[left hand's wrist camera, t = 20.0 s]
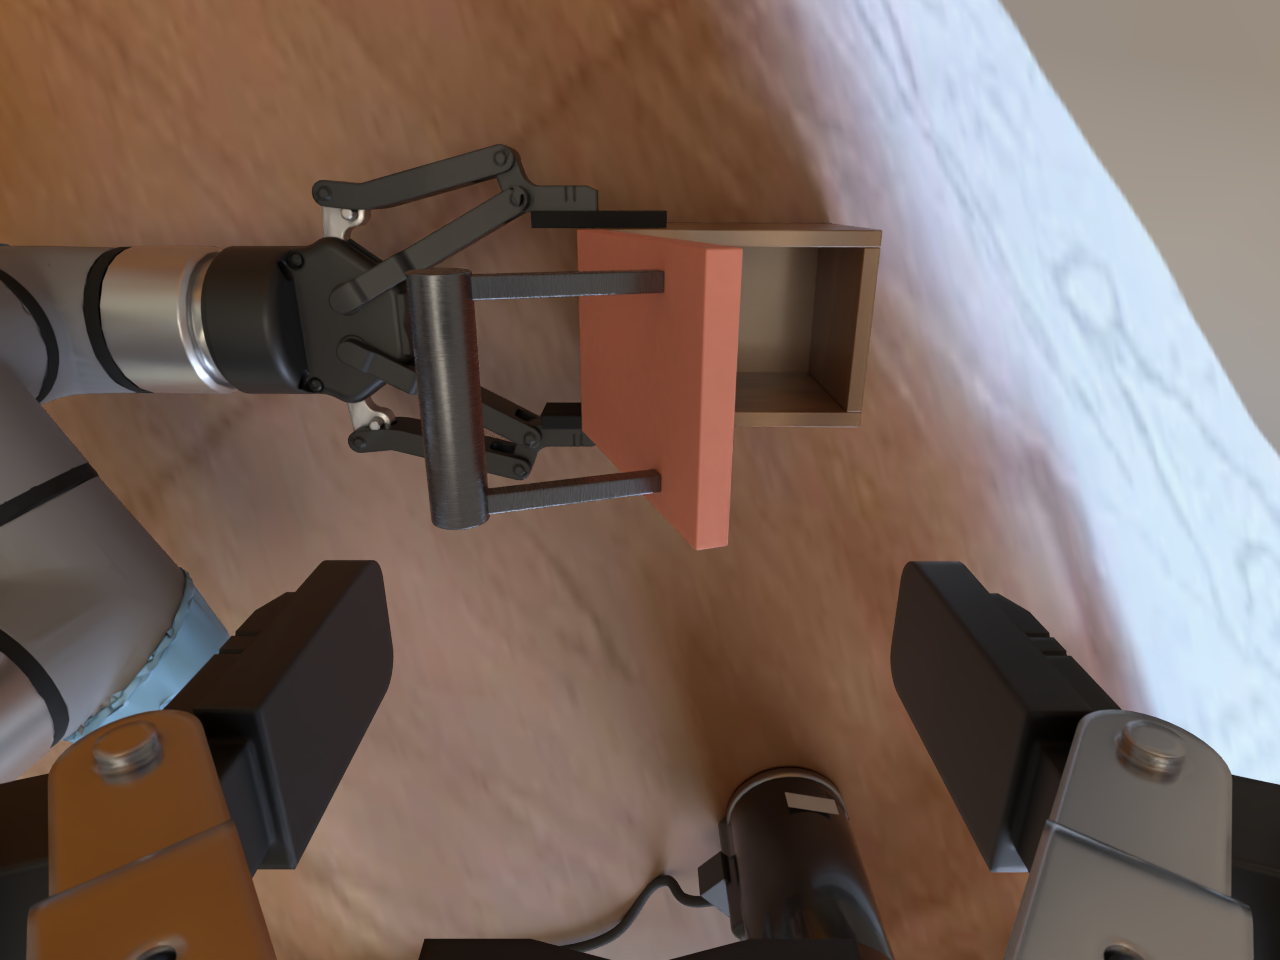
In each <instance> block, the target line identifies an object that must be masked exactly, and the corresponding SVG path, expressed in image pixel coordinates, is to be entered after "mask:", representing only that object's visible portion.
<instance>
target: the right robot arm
mask: <svg viewBox="0 0 1280 960" xmlns="http://www.w3.org/2000/svg"><path fill="white" fill-rule="evenodd" d="M494 178H497V180H498V182H499V185H500V187H501V190H502V192H501V193H499V194H498V195H496V196H494V197H492V198H491V199H489V200H487V201H486V202H484V203H482V204H481V205H479V206H477V207H476V208H474V209H472V210H471V211H469V212H467V213H466V214H464V215H462V216H461V217H459V218H457V219H455V220H454V221H452V222H450V223H449V224H447V225H445V226H444V227H442V228H440V229H439V230H437V231H435V232H434V233H432V234H430V235H429V236H427V237H425V238H424V239H422V240H420V241H419V242H417V243H415V244H413V245H412V246H410V247H408V248H407V249H405V250H403V251H401V252H399V253H397V254H395V255H393V256H391V257H390V258H388V259H386V260H385V261H382V260H381V259H379V258H378V257H376V256H375V255H373V254H372V253H370V252H369V251H368V250H366V249H365V248H363V247H362V246H360V245H359V244H357V243H356V242H355V241H353V240H352V239H350V234H351V231H352V230H353V229H354V228H355V227H357V226H361V225H365V224H366V223H368V221H369V220H370V216H371V209H386V208H390V207H395V206H398V205H402V204H405V203H409V202H413V201H416V200H420V199H423V198H427V197H430V196H434V195H437V194H441V193H444V192H448V191H452V190H455V189H459V188H462V187H466V186H469V185H473V184H476V183H480V182H484V181H487V180H491V179H494ZM312 195H313V198H314V200H315V201H316V202H317V203H318V204H319V205H321V206H322V214H323V234H324V238H321V239H319V240H318V241H316V242H315V243H313V244H311V245H309V246H231V247H227V248H226V249H224V250H222V249H219V248H217V247H215V246H134V247H118V248H100V247H61V246H9V245H8V244H0V784H1V783H6V782H11V781H15V780H16V779H17V778H18V777H19V776H21V775H22V774H23V773H24V772H25V771H26V770H28V769H29V768H30V767H31V766H32V765H34V764H35V763H36V762H37V761H38V760H39V759H41V758H42V757H43V756H44V755H45V754H47V753H48V752H49V750H50V748H51V747H53V746H54V745H55V744H56V743H58V742H59V741H61V740H64V741H71V742H72V743H73V744H74V743H75V742H76V741H78V740H79V739H81V738H82V737H84V736H85V735H87V734H89V733H90V732H92V731H94V730H96V729H98V728H100V727H102V726H104V725H106V724H108V723H110V722H113V721H116V720H118V719H121V718H124V717H127V716H131V715H134V714H138V713H143V712H147V711H155V710H163V709H164V708H165V707H166V706H167V704H168V703H169V702H170V701H171V700H172V699H173V698H174V697H175V696H176V695H177V694H178V693H179V692H180V691H181V689H182V688H183V687H184V686H185V685H186V684H187V683H188V682H189V681H190V680H191V679H192V678H193V677H194V676H195V675H196V673H197V672H198V671H199V670H200V669H201V668H202V667H203V666H204V665H205V664H206V663H207V662H208V661H209V660H210V659H211V657H212V656H213V655H214V654H219V649H220V648H221V647H222V646H223V645H224V644H225V642H226V641H227V640H228V639H229V638H230V637H229V634H228V632H227V630H226V628H225V627H224V625H223V624H222V623H221V622H220V620H219V619H218V618H217V616H216V615H215V614H214V612H213V611H212V609H211V608H210V607H209V605H208V604H207V602H206V601H205V600H204V598H203V597H202V595H201V594H200V593H199V591H198V590H197V588H196V587H195V586H194V584H193V581H192V579H191V578H190V576H189V573H188V572H186V571H185V570H183V569H182V568H181V567H178V566H177V565H176V564H175V562H174V561H173V560H172V559H171V558H170V557H169V556H168V555H167V553H166V552H165V551H164V550H163V549H162V548H161V547H160V546H159V544H158V543H157V542H156V541H155V540H154V539H153V538H152V536H151V535H150V534H149V533H148V532H147V531H146V530H145V529H144V527H143V526H142V525H141V524H140V523H139V522H138V521H137V520H136V518H135V517H134V516H133V515H132V514H131V513H130V512H129V510H128V509H127V508H126V507H125V506H124V505H123V504H122V503H121V501H120V500H119V499H118V498H117V497H116V496H115V495H114V494H113V492H112V491H111V490H110V489H109V488H108V487H107V486H106V484H105V483H104V482H103V481H102V480H101V479H100V478H99V476H98V473H97V472H96V471H95V470H94V469H93V468H92V466H91V465H90V464H89V462H88V461H87V460H86V459H85V457H84V456H83V455H82V454H81V453H80V451H79V450H78V449H77V448H76V447H75V446H74V444H73V443H72V442H71V441H70V440H69V438H68V437H67V436H66V435H65V434H64V432H63V431H62V430H61V429H60V428H59V426H58V425H57V424H56V423H55V422H54V420H53V419H52V418H51V417H50V416H49V415H48V413H47V412H46V411H45V410H44V409H43V407H42V406H41V405H40V404H43V403H46V402H49V401H52V400H55V399H58V398H61V397H65V396H70V395H77V394H92V393H195V394H231V393H234V392H237V391H239V390H240V391H241V392H244V393H249V394H327V395H331V396H333V397H336V398H338V399H340V400H342V401H344V402H347V404H348V408H349V412H350V416H351V420H352V424H353V428H354V432H353V433H352V434H351V435H350V436H349V438H348V444H349V446H350V448H351V449H352V450H354V451H356V452H359V453H365V452H376V451H387V450H394V451H399V452H403V453H407V454H411V455H415V456H419V457H424V458H425V454H424V444H423V435H422V426H421V420H419V419H414V418H409V417H395V415H394V413H393V412H392V411H391V410H390V409H388V408H385V407H380V406H378V405H376V404H375V403H374V402H373V401H372V399H371V395H372V394H374V393H375V392H376V391H378V390H379V389H380V388H381V387H383V386H384V385H385V384H387V383H388V384H390V385H392V386H394V387H396V388H398V389H400V390H402V391H404V392H406V393H409V394H412V395H418V388H417V379H416V369H415V360H414V350H413V341H412V332H411V322H410V313H409V303H408V294H407V285H406V275H405V273H406V272H407V271H409V270H416V269H430V268H432V267H434V266H436V265H437V264H439V263H441V262H442V261H444V260H446V259H447V258H449V257H451V256H453V255H454V254H456V253H458V252H459V251H461V250H463V249H465V248H466V247H468V246H470V245H471V244H473V243H475V242H477V241H478V240H480V239H482V238H483V237H485V236H487V235H488V234H490V233H492V232H494V231H495V230H497V229H499V228H500V227H502V226H504V225H506V224H507V223H509V222H511V221H512V220H514V219H516V218H517V217H519V216H521V215H523V214H524V213H526V212H531V223H532V228H594V227H619V228H666V223H667V211H598V190H596V189H593V188H591V187H589V186H537V185H535V184H533V183H532V182H531V181H530V180H529V179H528V178H527V176H526V173H525V171H524V168H523V166H522V163H521V157H520V155H519V153H518V152H517V151H516V150H515V149H512V148H510V147H508V146H505V145H502V144H497V145H493V146H490V147H486V148H483V149H479V150H476V151H472V152H469V153H465V154H462V155H458V156H455V157H451V158H448V159H444V160H441V161H437V162H434V163H430V164H427V165H423V166H420V167H416V168H413V169H409V170H406V171H402V172H399V173H395V174H392V175H388V176H385V177H381V178H378V179H374V180H371V181H367V182H364V183H355V182H345V181H331V180H320V181H318V182H316V183H315V184H314V186H313V187H312ZM480 389H481V403H482V416H483V427H484V428H486V429H488V430H490V431H492V432H494V433H496V434H498V435H500V436H502V437H504V438H506V439H508V440H510V441H512V442H509V441H505V440H501V439H497V438H493V437H489V436H485V435H484V443H485V456H486V469H487V473H490V474H495V475H499V476H503V477H507V478H511V479H516V480H523V479H526V478H527V477H528V476H529V474H530V472H531V469H532V467H533V464H534V462H535V459H536V456H537V453H538V451H539V450H540V449H542V448H544V447H548V446H595V444H594V443H593V441H592V440H591V439H590V438H589V437H588V436H587V435H586V434H585V433H584V432H583V431H582V405H581V403H546V405H545V408H544V410H543V412H542V414H541V416H538V415H536V414H534V413H532V412H530V411H528V410H526V409H524V408H522V407H520V406H518V405H516V404H514V403H513V402H511V401H509V400H507V399H505V398H503V397H501V396H499V395H497V394H495V393H493V392H491V391H489V390H487V389H485V388H483V387H481V386H480ZM513 442H514V443H513Z"/></svg>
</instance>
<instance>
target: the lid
mask: <svg viewBox="0 0 1280 960" xmlns="http://www.w3.org/2000/svg"><path fill="white" fill-rule="evenodd" d="M577 247H578V271H570V272H533V273H497V274H472V272H471V271H470V270H468V269H458V268H430V269H416V270H409V271H407V272H406V273H405V275H406V285H407V294H408V303H409V313H410V322H411V332H412V341H413V350H414V360H415V369H416V379H417V388H418V397H419V407H420V416H421V426H422V435H423V444H424V454H425V463H426V473H427V482H428V491H429V501H430V510H431V520H432V523H433V524H434V525H435V526H437V527H439V528H442V529H447V530H463V529H469V528H473V527H477V526H479V525H482V524H483V523H485V522H486V521H487V520H488V519H489V517H490V514H495V513H503V512H511V511H519V510H526V509H534V508H542V507H550V506H557V505H565V504H573V503H580V502H588V501H596V500H604V499H611V498H619V497H627V496H635V495H642V494H643V495H644V496H645V497H646V498H647V499H648V500H649V501H650V502H651V504H652V505H653V506H654V507H655V508H656V509H657V510H658V511H659V512H660V513H661V514H662V515H663V516H664V517H665V518H666V519H667V520H668V521H669V522H670V524H671V525H672V526H673V527H674V528H675V529H676V530H677V531H678V532H679V533H680V534H681V535H682V536H683V537H684V538H685V539H686V540H687V541H688V542H689V544H690V545H691V546H692V547H693V548H694V549H695V550H702V549H708V548H715V547H721V546H727V545H728V529H729V509H730V490H731V471H732V451H733V432H734V412H735V393H736V373H737V354H738V334H739V315H740V295H741V276H742V256H743V249H742V248H740V247H733V246H725V245H717V244H710V243H702V242H694V241H687V240H679V239H671V238H664V237H656V236H648V235H641V234H633V233H625V232H618V231H610V230H602V229H580V230H577ZM570 296H579V326H580V366H581V405H582V431H583V432H584V433H585V434H586V435H587V436H588V437H589V438H590V439H591V440H592V441H593V443H594V444H595V445H596V446H597V447H598V448H599V449H600V450H601V451H602V452H603V453H604V454H605V455H606V456H607V457H608V458H609V459H610V460H611V461H612V462H613V464H614V465H615V466H616V467H617V468H618V469H619V470H620V471H621V472H622V473H616V474H607V475H599V476H590V477H582V478H573V479H565V480H556V481H548V482H540V483H531V484H523V485H514V486H506V487H497V488H489V489H488V482H487V469H486V456H485V443H484V429H483V416H482V403H481V389H480V376H479V363H478V349H477V336H476V323H475V309H474V300H492V299H518V298H544V297H570Z"/></svg>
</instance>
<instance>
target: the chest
mask: <svg viewBox="0 0 1280 960" xmlns="http://www.w3.org/2000/svg"><path fill="white" fill-rule="evenodd" d="M592 229H602V230H610V231H618V232H625V233H633V234H641V235H648V236H656V237H664V238H671V239H679V240H687V241H694V242H702V243H710V244H717V245H725V246H733V247H740V248H742V249H743V256H742V276H741V295H740V315H739V334H738V354H737V373H736V393H735V412H734V427H860V422H861V411H862V403H863V395H864V386H865V377H866V369H867V360H868V351H869V343H870V334H871V325H872V316H873V308H874V299H875V290H876V282H877V273H878V264H879V256H880V248H879V247H880V246H881V238H882V230H877V229H870V228H862V227H854V226H846V225H838V224H831V223H666V228H619V227H594V228H592Z"/></svg>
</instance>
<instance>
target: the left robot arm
mask: <svg viewBox="0 0 1280 960" xmlns="http://www.w3.org/2000/svg"><path fill="white" fill-rule="evenodd" d="M890 658H891V672H892V678H893V682H894V686H895V689H896V691H897V693H898V695H899V697H900V699H901V701H902V703H903V705H904V707H905V709H906V711H907V712H908V714H909V716H910V718H911V720H912V722H913V724H914V726H915V728H916V730H917V732H918V734H919V735H920V737H921V739H922V741H923V743H924V745H925V747H926V749H927V751H928V753H929V755H930V757H931V758H932V760H933V762H934V764H935V766H936V768H937V770H938V772H939V774H940V776H941V778H942V780H943V781H944V783H945V785H946V787H947V789H948V791H949V793H950V795H951V797H952V799H953V801H954V803H955V804H956V806H957V808H958V810H959V812H960V814H961V816H962V818H963V820H964V822H965V824H966V826H967V827H968V829H969V831H970V833H971V835H972V837H973V839H974V841H975V843H976V845H977V847H978V849H979V850H980V852H981V854H982V856H983V858H984V860H985V862H986V864H987V866H988V868H989V870H990V872H1029V873H1030V874H1029V877H1028V881H1027V884H1026V887H1025V890H1024V894H1023V897H1022V900H1021V903H1020V906H1019V910H1018V913H1017V916H1016V919H1015V923H1014V926H1013V929H1012V932H1011V936H1010V939H1009V942H1008V945H1007V949H1006V952H1005V955H1004V958H1003V960H1280V785H1278V784H1273V783H1269V782H1264V781H1259V780H1254V779H1249V778H1245V777H1240V776H1236V775H1232V774H1231V772H1230V770H1229V768H1228V766H1227V764H1226V763H1225V761H1224V760H1223V759H1222V757H1221V756H1220V755H1219V754H1218V753H1217V752H1216V751H1215V750H1214V749H1213V748H1211V747H1210V746H1209V745H1208V744H1206V743H1205V742H1204V741H1202V740H1201V739H1199V738H1198V737H1196V736H1195V735H1193V734H1191V733H1190V732H1188V731H1186V730H1184V729H1182V728H1180V727H1178V726H1176V725H1174V724H1172V723H1170V722H1167V721H1164V720H1162V719H1159V718H1156V717H1153V716H1149V715H1146V714H1142V713H1137V712H1133V711H1125V710H1122V709H1121V708H1120V707H1119V706H1118V705H1117V704H1116V703H1115V702H1114V701H1113V700H1112V699H1111V698H1110V697H1109V696H1108V695H1107V694H1106V692H1105V691H1104V690H1103V689H1102V688H1101V687H1100V686H1099V685H1098V684H1097V683H1096V682H1095V681H1094V680H1093V679H1092V678H1091V677H1090V676H1089V674H1088V673H1087V672H1086V671H1085V670H1084V669H1083V668H1082V667H1081V666H1080V665H1079V664H1078V663H1077V662H1076V661H1075V660H1074V659H1073V658H1072V656H1067V654H1066V650H1065V649H1064V648H1063V647H1062V646H1061V645H1060V644H1059V643H1058V642H1057V641H1056V640H1055V638H1054V637H1050V636H1049V632H1048V631H1047V630H1046V629H1045V628H1044V627H1043V626H1042V625H1041V624H1040V623H1039V622H1038V621H1037V619H1036V618H1035V617H1034V616H1033V615H1032V614H1031V613H1030V612H1029V611H1027V610H1025V609H1024V608H1022V607H1020V606H1019V605H1017V604H1015V603H1013V602H1012V601H1010V600H1008V599H1007V598H1005V597H1003V596H1001V595H1000V594H998V593H989V592H988V591H987V590H986V589H985V588H984V587H983V585H982V584H981V583H980V582H979V581H978V580H977V579H976V578H975V576H974V575H973V574H972V573H971V572H970V571H969V570H968V569H967V567H966V566H965V565H964V564H963V563H961V562H958V561H910V562H908V563H907V564H906V565H905V567H904V569H903V572H902V576H901V582H900V589H899V596H898V603H897V610H896V617H895V624H894V631H893V638H892V645H891V657H890ZM392 669H393V645H392V638H391V631H390V624H389V617H388V610H387V603H386V595H385V588H384V581H383V575H382V571H381V568H380V566H379V564H378V563H377V562H376V561H374V560H325V561H323V562H322V563H320V564H319V566H318V567H317V568H316V569H315V570H314V571H313V572H312V574H311V575H310V576H309V577H308V578H307V579H306V580H305V582H304V583H303V584H302V585H301V586H300V587H299V588H298V589H297V591H296V592H286V593H284V594H283V595H281V596H279V597H277V598H276V599H274V600H272V601H271V602H269V603H267V604H266V605H264V606H262V607H260V608H259V609H257V610H255V612H254V613H253V614H252V615H251V616H250V617H249V618H248V619H247V620H246V621H245V622H244V623H243V624H242V625H241V626H240V628H239V629H238V630H237V631H236V635H235V636H231V637H230V638H229V639H228V640H227V641H226V642H225V644H224V645H223V646H222V647H221V648H220V649H219V654H214V655H213V656H212V657H211V659H210V660H209V661H208V662H207V663H206V664H205V665H204V666H203V667H202V668H201V669H200V670H199V671H198V672H197V673H196V675H195V676H194V677H193V678H192V679H191V680H190V681H189V682H188V683H187V684H186V685H185V686H184V687H183V688H182V689H181V691H180V692H179V693H178V694H177V695H176V696H175V697H174V698H173V699H172V700H171V701H170V702H169V703H168V704H167V706H166V707H165V708H164V709H163V710H155V711H147V712H143V713H138V714H134V715H131V716H127V717H124V718H121V719H118V720H116V721H113V722H110V723H108V724H106V725H104V726H102V727H100V728H98V729H96V730H94V731H92V732H90V733H89V734H87V735H85V736H84V737H82V738H81V739H79V740H78V741H76V742H75V743H74V744H72V745H71V746H70V747H69V748H67V749H66V750H65V751H64V752H63V753H62V754H61V755H60V756H59V757H58V759H57V760H56V761H55V763H54V764H53V766H52V768H51V770H50V772H49V774H45V775H40V776H35V777H30V778H25V779H21V780H16V781H11V782H6V783H1V784H0V960H277V958H276V955H275V952H274V949H273V945H272V942H271V939H270V936H269V932H268V929H267V926H266V923H265V919H264V916H263V913H262V910H261V906H260V903H259V900H258V897H257V894H256V890H255V887H254V884H253V881H252V878H253V876H254V874H255V873H256V871H257V869H295V868H296V866H297V864H298V862H299V860H300V858H301V857H302V855H303V853H304V851H305V849H306V847H307V845H308V843H309V841H310V839H311V837H312V835H313V833H314V831H315V829H316V827H317V825H318V824H319V822H320V820H321V818H322V816H323V814H324V812H325V810H326V808H327V806H328V804H329V802H330V800H331V798H332V796H333V794H334V792H335V791H336V789H337V787H338V785H339V783H340V781H341V779H342V777H343V775H344V773H345V771H346V769H347V767H348V765H349V763H350V761H351V760H352V758H353V756H354V754H355V752H356V750H357V748H358V746H359V744H360V742H361V740H362V738H363V736H364V734H365V732H366V730H367V728H368V727H369V725H370V723H371V721H372V719H373V717H374V715H375V713H376V711H377V709H378V707H379V705H380V703H381V701H382V699H383V697H384V695H385V694H386V692H387V689H388V687H389V684H390V680H391V675H392ZM718 827H719V835H720V843H721V851H722V852H721V851H720V852H719V853H717V854H716V855H715V856H713V857H712V858H711V859H709V860H708V861H707V862H705V863H704V864H702V865H701V866H700V867H698V877H699V888H700V896H692V895H688V894H686V893H684V892H683V891H682V889H681V888H680V886H679V884H678V883H677V881H676V880H675V879H674V878H673V877H672V876H669V875H666V876H660V877H657V878H655V879H654V880H653V881H651V882H650V883H649V884H648V885H647V887H646V888H645V889H644V890H643V892H642V893H641V894H640V896H639V897H638V898H637V900H636V901H635V903H634V904H633V906H632V908H631V909H630V911H629V912H628V913H627V915H626V916H625V917H624V919H623V920H622V921H621V922H620V923H619V924H618V925H617V926H616V927H614V928H613V929H612V930H610V931H608V932H607V933H605V934H603V935H600V936H598V937H596V938H593V939H590V940H587V941H583V942H579V943H575V944H570V945H564V946H556V945H552V944H548V943H544V942H541V941H537V940H533V939H424V943H423V946H422V949H421V953H420V956H419V960H609V959H606V958H602V957H598V956H594V955H590V954H587V953H583V952H586V951H590V950H593V949H596V948H598V947H601V946H603V945H606V944H608V943H610V942H612V941H613V940H615V939H616V938H618V937H619V936H620V935H622V934H623V933H624V932H625V931H626V930H627V929H628V928H629V926H630V925H631V924H632V923H633V921H634V920H635V918H636V917H637V915H638V914H639V912H640V911H641V909H642V907H643V906H644V904H645V903H646V901H647V900H648V898H649V897H650V895H651V894H652V893H653V892H654V891H655V890H657V889H658V888H660V887H662V886H668V887H669V888H670V890H671V892H672V893H673V895H674V897H675V898H676V899H677V900H678V901H679V902H680V903H682V904H684V905H686V906H689V907H709V906H715V907H716V908H718V909H719V910H720V911H722V912H723V913H724V914H726V915H727V916H728V917H730V923H731V930H732V933H733V934H734V936H735V937H736V938H737V939H739V940H740V941H739V942H736V943H732V944H728V945H724V946H720V947H716V948H713V949H709V950H705V951H701V952H697V953H693V954H690V955H686V956H682V957H678V958H674V959H671V960H895V958H894V955H893V952H892V949H891V946H890V943H889V940H888V937H887V934H886V931H885V928H884V925H883V922H882V919H881V916H880V913H879V910H878V907H877V904H876V901H875V898H874V895H873V892H872V889H871V886H870V883H869V880H868V877H867V874H866V871H865V868H864V865H863V862H862V859H861V856H860V853H859V850H858V847H857V844H856V841H855V838H854V835H853V832H852V829H851V826H850V823H849V818H848V815H847V811H846V807H845V804H844V801H843V798H842V796H841V794H840V792H839V790H838V789H837V788H836V787H835V785H834V784H833V783H832V782H831V781H829V780H828V779H827V778H825V777H823V776H822V775H820V774H818V773H815V772H813V771H809V770H805V769H800V768H780V769H774V770H770V771H766V772H763V773H761V774H758V775H756V776H754V777H753V778H751V779H749V780H748V781H746V782H745V783H744V784H743V785H741V786H740V787H739V788H738V789H737V791H736V792H735V793H734V795H733V796H732V798H731V800H730V802H729V805H728V808H727V814H726V818H725V819H724V820H722V821H721V822H720V823H719V824H718Z"/></svg>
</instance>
